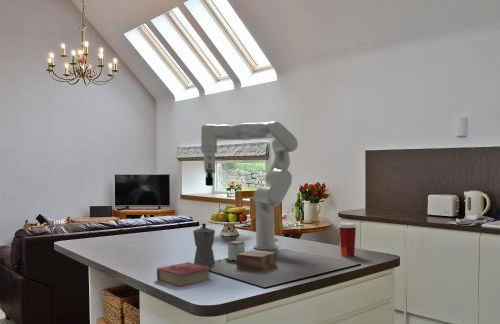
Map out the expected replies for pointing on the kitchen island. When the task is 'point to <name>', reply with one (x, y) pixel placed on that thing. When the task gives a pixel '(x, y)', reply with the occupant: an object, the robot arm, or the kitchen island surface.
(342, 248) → the coffee cup
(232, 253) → the tea tin
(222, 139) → the robot arm
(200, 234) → the coffeepot
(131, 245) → the kitchen island surface
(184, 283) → the book
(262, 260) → the walnut box
